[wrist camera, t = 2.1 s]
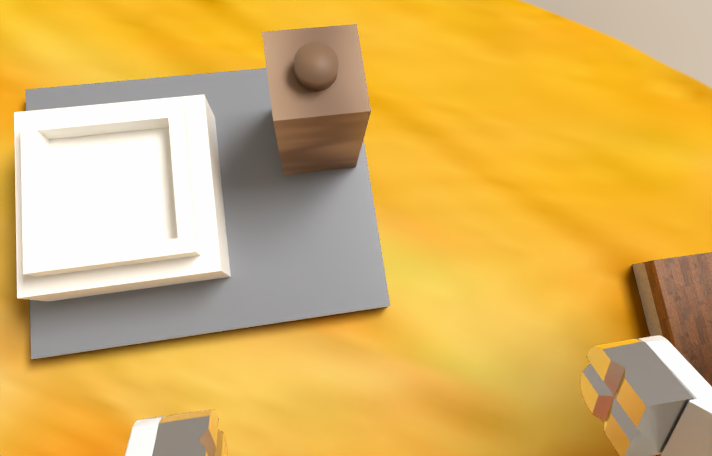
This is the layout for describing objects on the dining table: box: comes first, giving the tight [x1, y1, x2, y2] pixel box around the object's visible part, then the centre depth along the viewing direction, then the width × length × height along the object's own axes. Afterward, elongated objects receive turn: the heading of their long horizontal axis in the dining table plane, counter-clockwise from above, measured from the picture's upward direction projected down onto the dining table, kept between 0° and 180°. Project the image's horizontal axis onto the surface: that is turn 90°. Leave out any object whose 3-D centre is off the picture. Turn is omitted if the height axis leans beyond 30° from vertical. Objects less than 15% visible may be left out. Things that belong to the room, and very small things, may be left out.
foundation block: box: [14, 95, 231, 302], centre depth 27 cm, size 10×10×4 cm
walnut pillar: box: [262, 24, 371, 175], centre depth 26 cm, size 4×4×9 cm
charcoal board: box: [26, 68, 390, 359], centre depth 30 cm, size 20×16×1 cm
